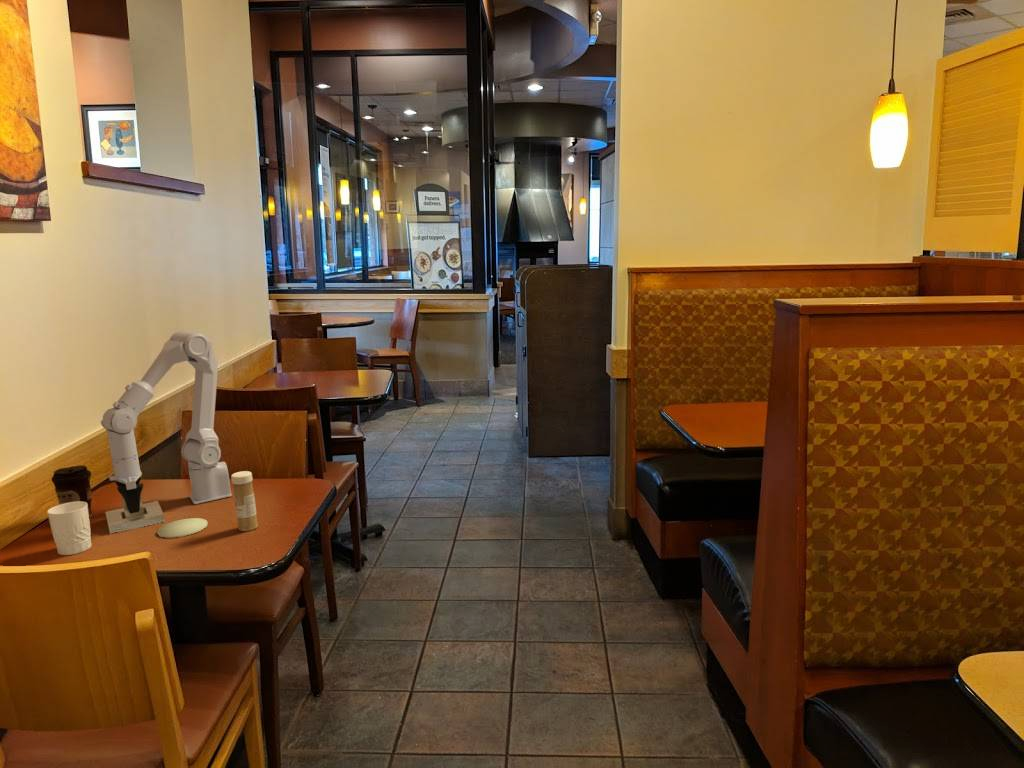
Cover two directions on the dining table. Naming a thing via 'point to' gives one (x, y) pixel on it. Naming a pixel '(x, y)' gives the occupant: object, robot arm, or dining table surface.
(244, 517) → the sprinkles bottle
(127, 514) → the square peg
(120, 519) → the socket block
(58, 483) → the coffee cup
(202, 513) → the dining table surface
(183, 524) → the mat
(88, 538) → the white cup
